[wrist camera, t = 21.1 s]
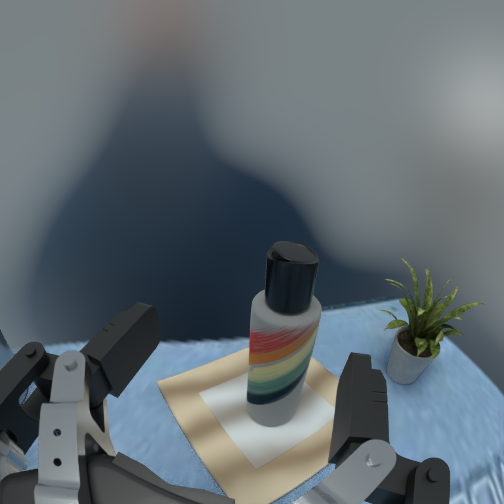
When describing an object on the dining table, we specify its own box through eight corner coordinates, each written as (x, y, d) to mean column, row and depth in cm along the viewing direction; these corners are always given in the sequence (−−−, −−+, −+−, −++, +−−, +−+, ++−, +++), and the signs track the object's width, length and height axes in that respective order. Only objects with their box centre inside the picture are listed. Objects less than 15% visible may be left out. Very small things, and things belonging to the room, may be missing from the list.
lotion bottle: (250, 386, 31) (259, 230, 23) (296, 391, 30) (328, 237, 22) (242, 424, 26) (248, 260, 18) (294, 430, 25) (338, 269, 17)
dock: (158, 386, 31) (156, 381, 31) (281, 336, 42) (282, 331, 41) (244, 517, 16) (244, 516, 16) (380, 418, 27) (384, 413, 26)
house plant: (333, 352, 38) (359, 252, 31) (395, 329, 43) (424, 243, 36) (389, 420, 26) (450, 318, 19) (448, 379, 30) (497, 288, 24)
